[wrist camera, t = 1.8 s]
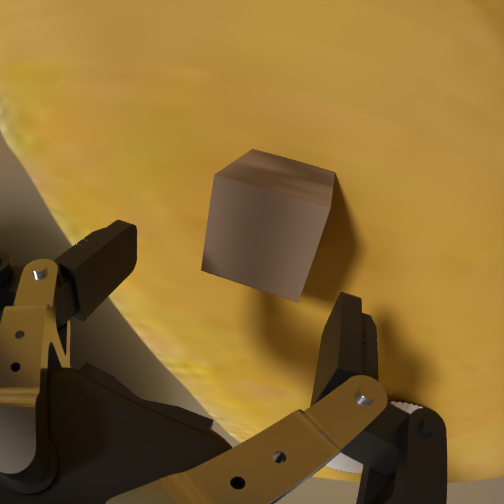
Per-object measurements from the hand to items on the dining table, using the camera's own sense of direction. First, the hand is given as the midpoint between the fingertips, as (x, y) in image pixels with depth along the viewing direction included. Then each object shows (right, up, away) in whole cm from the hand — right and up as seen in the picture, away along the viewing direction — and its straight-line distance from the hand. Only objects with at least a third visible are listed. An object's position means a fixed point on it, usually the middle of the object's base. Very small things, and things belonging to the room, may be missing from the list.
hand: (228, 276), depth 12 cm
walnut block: (+3, +4, +8) cm, 9 cm away
